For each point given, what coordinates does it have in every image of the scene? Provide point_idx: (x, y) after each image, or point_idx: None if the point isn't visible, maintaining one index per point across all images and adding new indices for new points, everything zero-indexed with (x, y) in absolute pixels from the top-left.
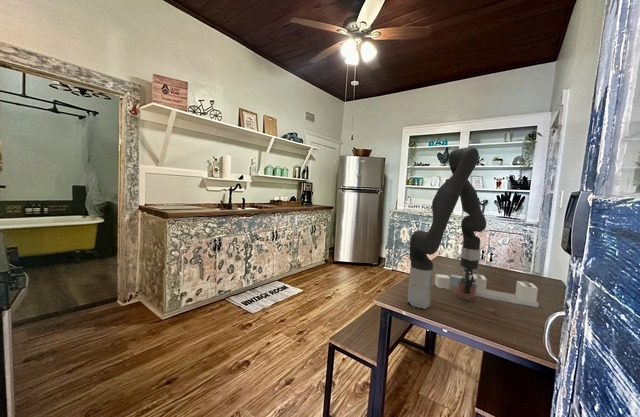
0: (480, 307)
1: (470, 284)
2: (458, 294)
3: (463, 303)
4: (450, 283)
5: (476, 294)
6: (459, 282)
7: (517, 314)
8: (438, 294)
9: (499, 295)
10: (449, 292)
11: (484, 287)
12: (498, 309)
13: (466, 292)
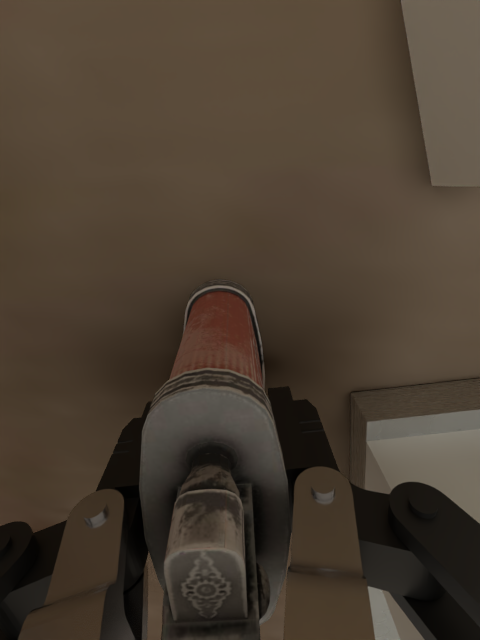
0: (79, 471)
1: (4, 632)
2: (191, 312)
3: (48, 352)
4: None
5: (355, 462)
6: (154, 421)
7: (149, 626)
8: (100, 30)
9: (384, 611)
10: (299, 193)
11: (393, 606)
12: (148, 560)
13: (131, 431)
